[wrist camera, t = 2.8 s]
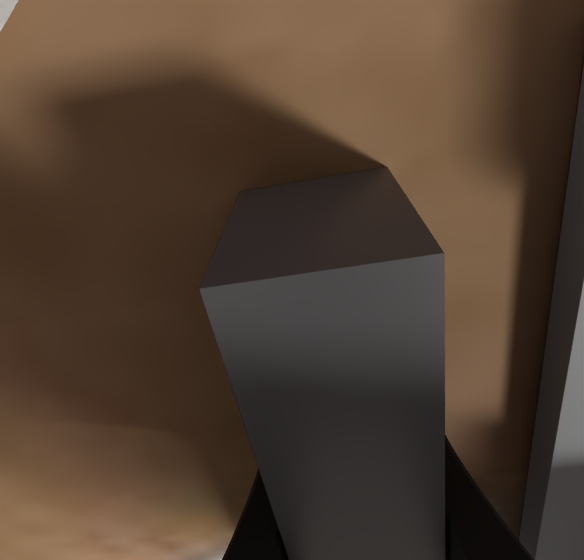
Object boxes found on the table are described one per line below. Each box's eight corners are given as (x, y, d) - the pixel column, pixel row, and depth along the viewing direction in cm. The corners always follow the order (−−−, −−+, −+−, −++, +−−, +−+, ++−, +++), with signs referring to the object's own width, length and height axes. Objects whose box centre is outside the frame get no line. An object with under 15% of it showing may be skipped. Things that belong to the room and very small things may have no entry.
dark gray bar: (413, 551, 15) (445, 703, 12) (330, 557, 16) (337, 707, 12) (386, 165, 8) (444, 252, 5) (240, 190, 9) (199, 289, 5)
